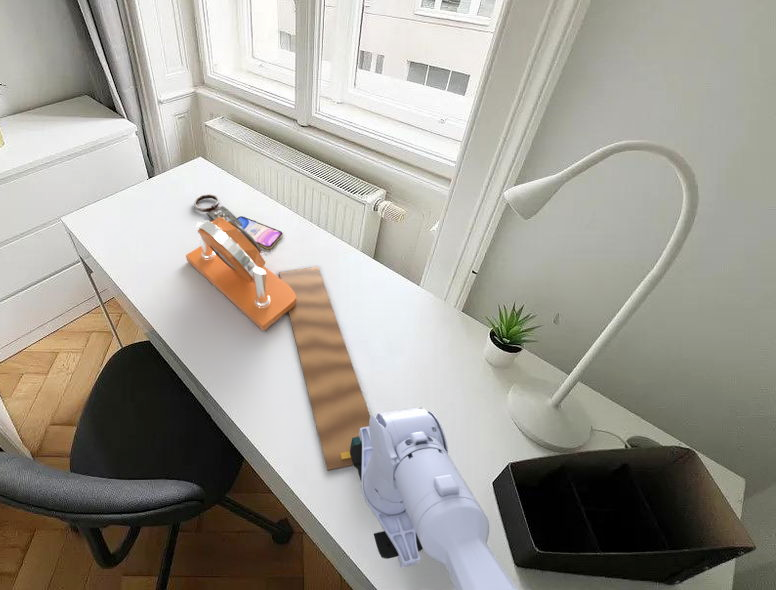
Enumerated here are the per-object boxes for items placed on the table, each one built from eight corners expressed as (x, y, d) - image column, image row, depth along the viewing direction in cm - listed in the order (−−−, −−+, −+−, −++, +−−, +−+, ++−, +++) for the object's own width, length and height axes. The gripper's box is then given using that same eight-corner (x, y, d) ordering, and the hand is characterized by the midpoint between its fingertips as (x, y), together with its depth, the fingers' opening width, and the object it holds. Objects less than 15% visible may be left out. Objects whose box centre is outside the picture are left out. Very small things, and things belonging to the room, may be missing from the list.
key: (369, 443, 71) (372, 433, 68) (374, 458, 69) (378, 448, 66) (338, 449, 70) (340, 439, 67) (342, 464, 68) (344, 455, 66)
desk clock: (261, 333, 88) (254, 271, 75) (185, 262, 106) (169, 202, 93) (301, 301, 94) (300, 238, 82) (223, 239, 112) (212, 179, 99)
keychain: (221, 237, 113) (220, 231, 111) (190, 204, 125) (189, 199, 124) (244, 225, 116) (244, 220, 115) (212, 194, 128) (211, 189, 127)
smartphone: (269, 251, 108) (269, 248, 107) (224, 232, 114) (224, 229, 114) (284, 234, 113) (284, 231, 112) (240, 217, 119) (240, 214, 119)
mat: (384, 458, 69) (384, 457, 69) (327, 470, 68) (327, 469, 68) (317, 267, 103) (317, 266, 103) (279, 273, 102) (279, 272, 102)
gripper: (457, 543, 42) (428, 571, 51) (400, 406, 53) (384, 448, 62) (392, 559, 41) (374, 584, 50) (348, 416, 52) (340, 457, 61)
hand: (377, 509), depth 56 cm, fingers open, 7 cm apart
